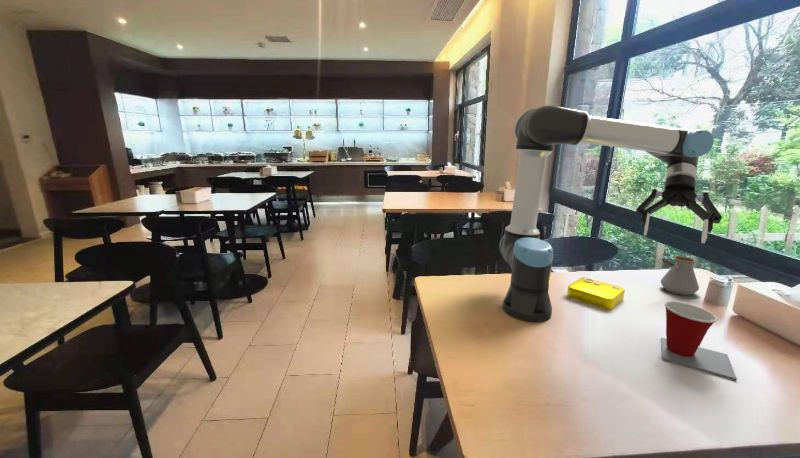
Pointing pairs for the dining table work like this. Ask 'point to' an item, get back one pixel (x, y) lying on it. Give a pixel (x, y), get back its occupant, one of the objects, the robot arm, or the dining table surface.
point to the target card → (701, 361)
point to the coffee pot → (680, 276)
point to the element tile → (596, 293)
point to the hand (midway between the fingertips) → (673, 236)
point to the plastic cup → (686, 327)
